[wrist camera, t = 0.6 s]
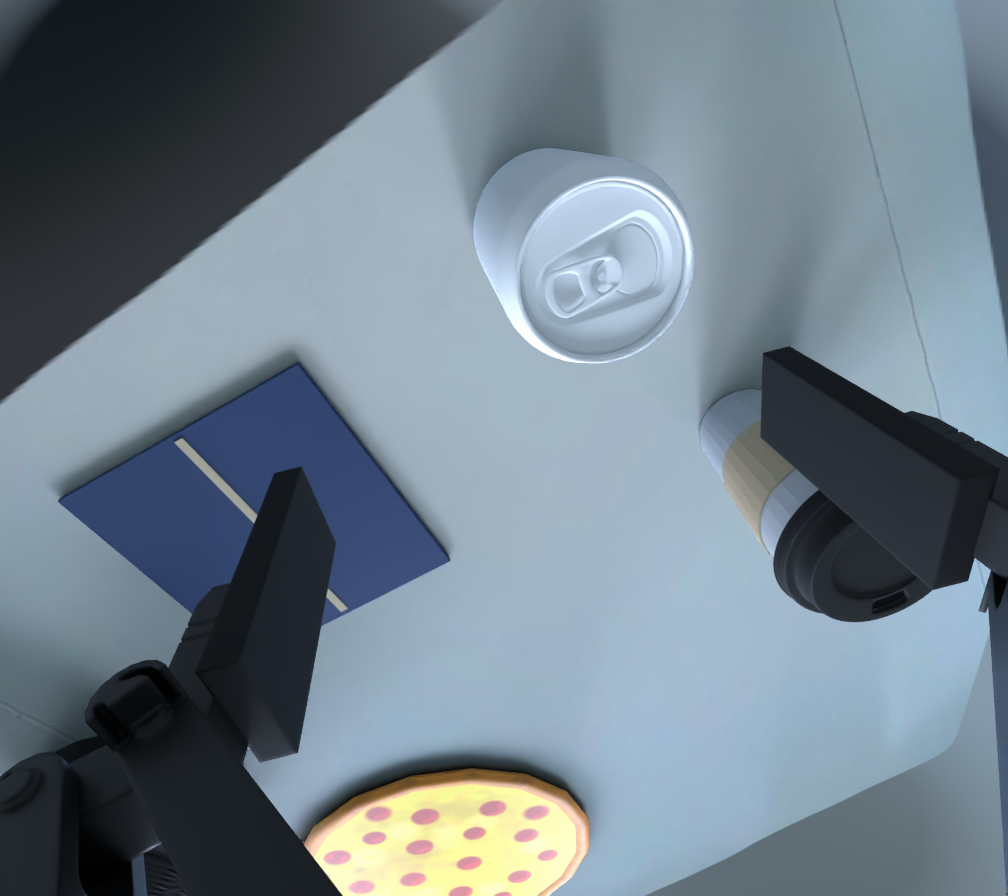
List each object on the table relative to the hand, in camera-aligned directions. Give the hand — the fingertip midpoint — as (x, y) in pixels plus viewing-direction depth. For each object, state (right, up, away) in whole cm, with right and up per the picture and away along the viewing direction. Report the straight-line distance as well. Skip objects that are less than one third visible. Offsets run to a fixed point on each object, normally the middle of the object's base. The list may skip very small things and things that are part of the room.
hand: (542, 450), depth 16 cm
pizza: (-7, -45, +47) cm, 65 cm away
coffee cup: (+16, +2, +25) cm, 29 cm away
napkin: (-17, -6, +23) cm, 30 cm away
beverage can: (+1, +13, +16) cm, 21 cm away
